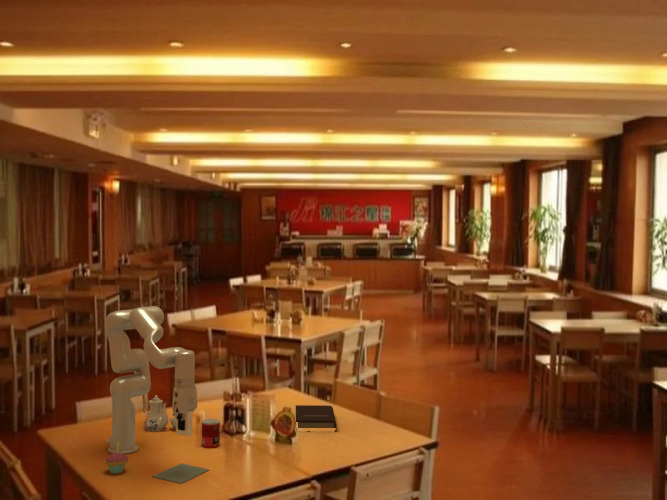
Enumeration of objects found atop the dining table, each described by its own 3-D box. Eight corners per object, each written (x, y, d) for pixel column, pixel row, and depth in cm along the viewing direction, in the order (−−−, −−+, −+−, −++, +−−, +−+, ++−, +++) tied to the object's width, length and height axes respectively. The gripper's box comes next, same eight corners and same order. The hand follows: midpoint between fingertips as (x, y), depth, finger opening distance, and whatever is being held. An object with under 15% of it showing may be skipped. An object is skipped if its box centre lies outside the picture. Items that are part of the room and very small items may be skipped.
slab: (175, 434, 277) (176, 408, 276) (180, 432, 279) (180, 407, 279) (187, 436, 274) (188, 410, 273) (192, 434, 276) (192, 409, 276)
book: (336, 432, 335) (336, 420, 335) (295, 432, 334) (295, 420, 334) (333, 416, 363) (333, 405, 363) (295, 416, 362) (295, 405, 362)
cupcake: (108, 467, 280) (108, 438, 280) (130, 467, 281) (130, 437, 280) (103, 475, 272) (103, 444, 271) (125, 475, 272) (125, 444, 272)
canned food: (216, 449, 306) (216, 423, 306) (198, 447, 308) (199, 422, 308) (222, 443, 314) (222, 419, 314) (205, 442, 316) (205, 417, 315)
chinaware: (193, 432, 336) (196, 397, 336) (168, 437, 322) (171, 400, 323) (152, 422, 351) (155, 389, 352) (126, 426, 337) (129, 391, 338)
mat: (152, 477, 271) (152, 476, 271) (181, 464, 286) (181, 463, 286) (181, 483, 265) (181, 482, 264) (209, 470, 280) (209, 469, 280)
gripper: (178, 387, 267) (177, 435, 267) (205, 379, 281) (204, 425, 282) (163, 385, 270) (162, 432, 271) (190, 377, 285) (190, 422, 285)
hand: (184, 428), depth 276 cm, fingers closed on slab, 2 cm apart
